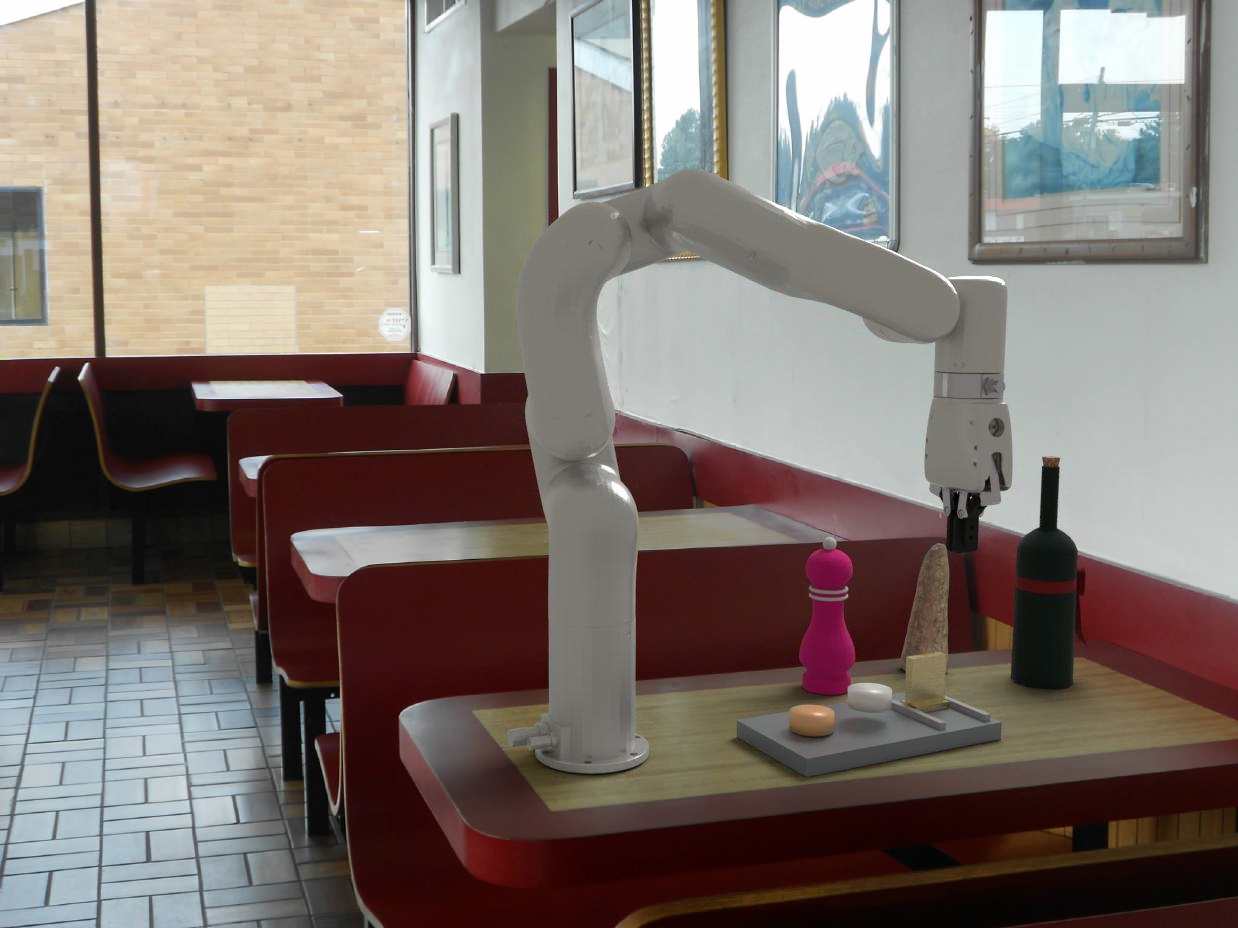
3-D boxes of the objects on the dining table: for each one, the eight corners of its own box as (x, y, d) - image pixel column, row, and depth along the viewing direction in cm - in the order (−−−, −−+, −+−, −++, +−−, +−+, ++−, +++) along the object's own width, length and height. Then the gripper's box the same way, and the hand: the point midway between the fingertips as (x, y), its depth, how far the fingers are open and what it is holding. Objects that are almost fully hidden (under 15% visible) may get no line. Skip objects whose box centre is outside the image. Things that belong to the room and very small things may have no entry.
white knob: (865, 715, 142) (865, 697, 142) (838, 702, 146) (838, 686, 146) (900, 709, 144) (901, 692, 144) (873, 697, 148) (873, 680, 148)
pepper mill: (852, 680, 168) (855, 532, 166) (856, 697, 161) (860, 543, 158) (797, 679, 169) (800, 531, 166) (799, 695, 162) (802, 541, 159)
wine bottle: (1100, 685, 166) (1111, 459, 162) (1031, 691, 164) (1041, 461, 160) (1065, 668, 174) (1075, 452, 170) (999, 674, 171) (1007, 454, 168)
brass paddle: (916, 713, 148) (917, 661, 147) (899, 706, 151) (901, 654, 150) (949, 707, 150) (951, 656, 149) (932, 700, 153) (934, 649, 152)
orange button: (805, 738, 138) (806, 721, 138) (780, 725, 143) (780, 708, 143) (843, 731, 141) (843, 714, 140) (816, 719, 145) (817, 702, 145)
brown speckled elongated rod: (948, 682, 170) (942, 671, 176) (973, 552, 168) (965, 545, 174) (901, 674, 170) (896, 662, 176) (925, 544, 169) (919, 537, 175)
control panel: (806, 776, 133) (807, 751, 133) (736, 736, 146) (736, 713, 146) (1001, 738, 145) (1001, 715, 145) (921, 704, 158) (921, 683, 157)
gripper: (1042, 392, 135) (1034, 560, 137) (951, 384, 149) (945, 537, 151) (987, 393, 132) (980, 566, 134) (899, 385, 145) (893, 542, 148)
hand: (961, 550), depth 143 cm, fingers closed
